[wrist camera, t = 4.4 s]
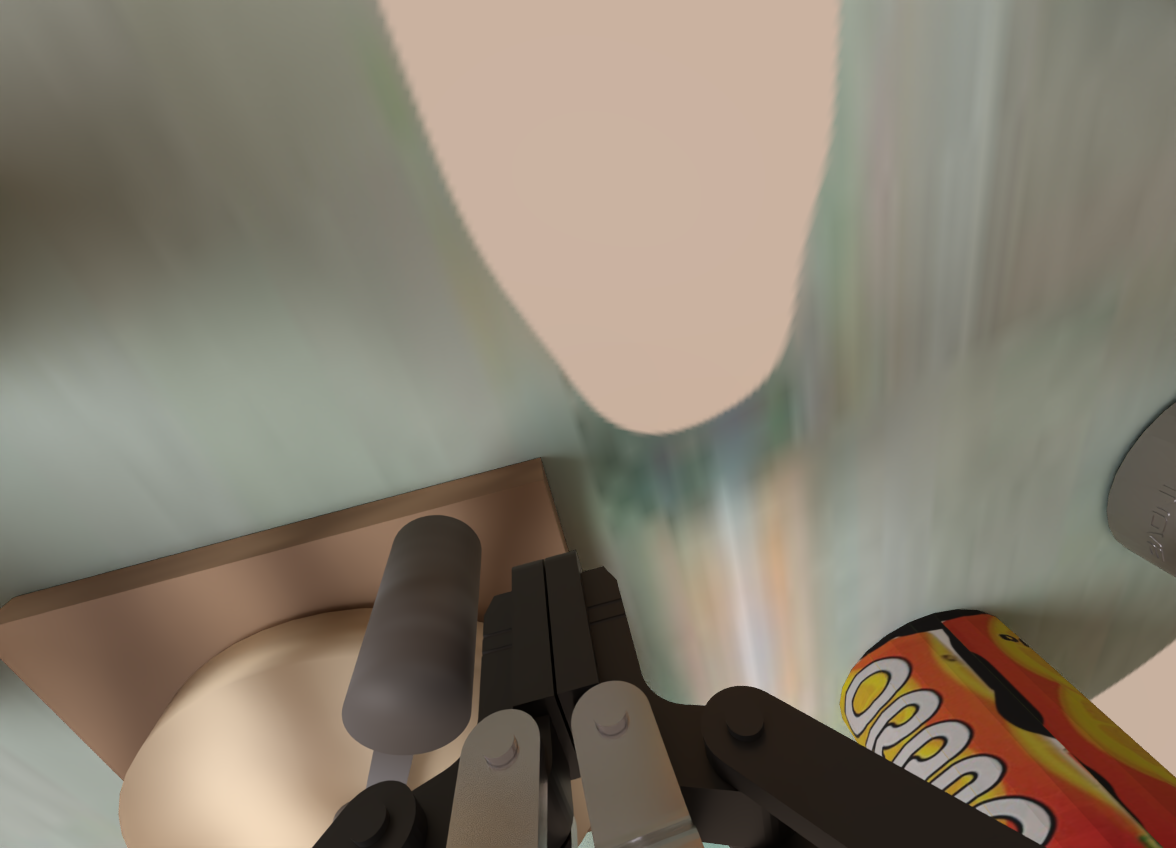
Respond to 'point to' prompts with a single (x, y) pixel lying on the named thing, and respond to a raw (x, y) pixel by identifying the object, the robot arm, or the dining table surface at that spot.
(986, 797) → the beverage can
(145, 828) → the dial
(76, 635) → the base plate
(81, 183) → the dining table surface
